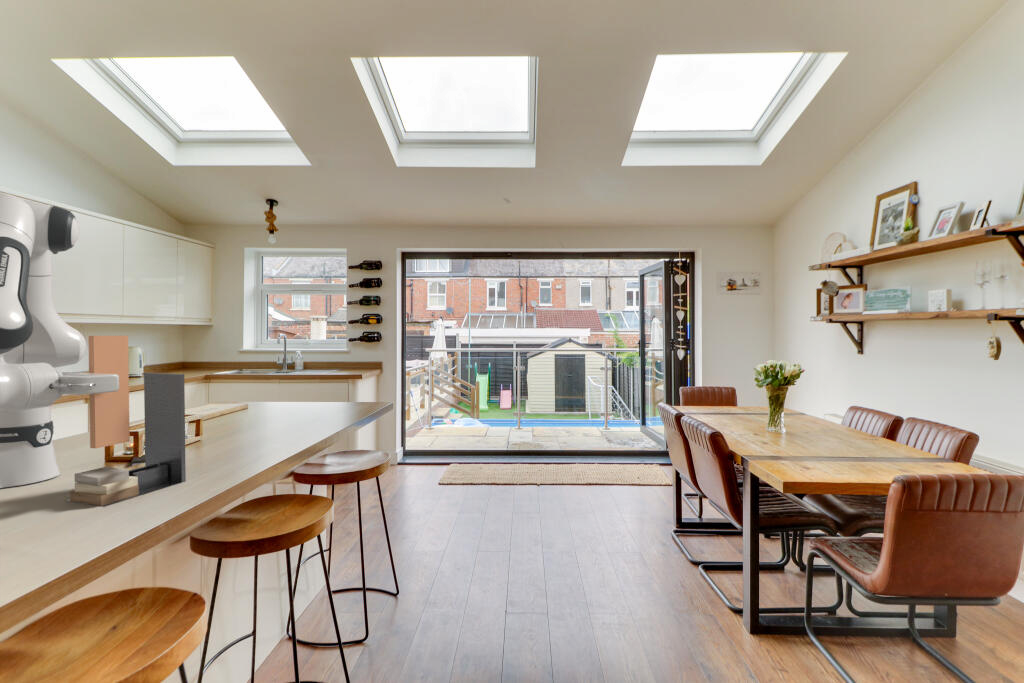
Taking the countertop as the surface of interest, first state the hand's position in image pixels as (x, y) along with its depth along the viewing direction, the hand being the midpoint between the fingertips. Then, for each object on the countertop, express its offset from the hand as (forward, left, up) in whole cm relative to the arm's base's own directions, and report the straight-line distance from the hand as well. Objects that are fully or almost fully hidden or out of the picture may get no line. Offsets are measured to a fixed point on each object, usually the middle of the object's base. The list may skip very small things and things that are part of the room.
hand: (111, 379), depth 108 cm
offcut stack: (-1, -1, -26) cm, 26 cm away
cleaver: (-14, +30, -28) cm, 43 cm away
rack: (+1, +3, -27) cm, 28 cm away
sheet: (0, 0, -14) cm, 14 cm away
